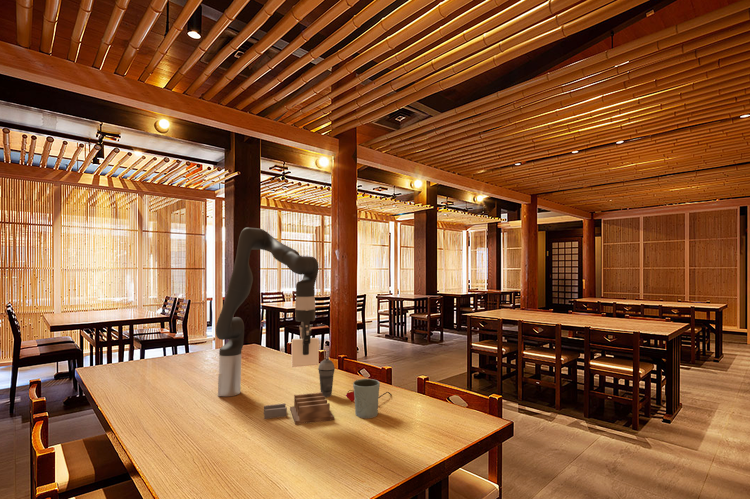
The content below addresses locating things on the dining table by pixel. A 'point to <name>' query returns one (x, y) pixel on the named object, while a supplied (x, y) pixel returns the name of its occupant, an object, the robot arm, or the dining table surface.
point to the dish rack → (310, 408)
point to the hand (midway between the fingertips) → (305, 353)
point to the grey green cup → (366, 397)
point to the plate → (305, 360)
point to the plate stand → (275, 411)
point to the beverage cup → (326, 376)
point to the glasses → (351, 396)
